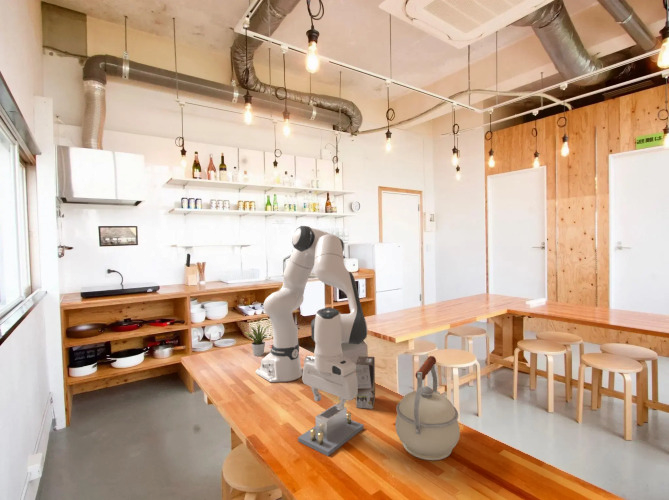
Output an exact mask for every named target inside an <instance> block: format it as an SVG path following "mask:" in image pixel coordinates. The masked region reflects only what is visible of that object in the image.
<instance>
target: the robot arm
mask: <svg viewBox="0 0 669 500" xmlns="http://www.w3.org/2000/svg"><path fill="white" fill-rule="evenodd" d="M291 243H292V247H293V248H294V249H293V250H292V253H291V254H290V256H289V259H288V261H287V264H286V266H285V267H284V270H283V273H282V276H283V281H282V286H281V288H280V289H279V290H277V291H274V292H272V293H270V295H268V296H267V297H266V298H265V300H263V301H264V302H263V310H264V312H265V314H266V315H267V316H268V317H269V320H270V325H271V328H272V341H273V342H272V344H271V345H269V348H268V349H271V350H270V352H269V353H268V354H266V356H264V357H263V358H262V359H261V361H260V367H259V368H257V369H256V370H255V374H256V375H258V376H259V377H262V378H263V379H265V380H266V381H268V382H270V383H278V382H292V381H296V380H298V379H300V378H301V379H302V382H303V384H304V385H306V386H308V387H310V389H311V392H312V394H313V401H315V402H319V401H321V400H322V395H321V394H320V391H322V392H325V393H328V394H331V395H333V396H336V397H338V400H339V401H340V402H338V403H336V404H337V409H338V410H340V411H342V410H343V409H344V407H345V403H346V402H347V401H350V402H351V400H354V399H356V396H357V394H358V383H357V376H356V363H355V362H353V360H351V359H349V358H348V357H346V356H345V355H344V354H343V349H342V344H350V345H351V344H352V345H360V344H361V343H362V342H364V341H365V340H366V339H367V337H368V336H367V335H368V333H369V332H368V331H369V330H368V329H369V328H368V323H367V321H366V318H365V315H364V312H363V311H364V310H363V308H362V304H361V300H360V294H359V290H358V288H357V284H356V280H355V277H354V274H353V273H352V272H351V271H348V269H347V268H346V266H345V263H344V262H345V261H344V257H345V256H344V250H345V243H344V241H343V239H342V238H340V237H339V236H337V235H335V234H331V233H330V232H327V231H324V230H320V229H316V228H312V227H310V226H308V225H307V226H306V225H300V226H299V227H298V228H296V230H295V231H294V233H293V235H292V241H291ZM313 269H314V273H315V277H316V278H317V279H318V280H319V281H320V282H321V283H323V284H325V285H327V286H330V287H333V288H336V289H338V290H340V291H342V292H343V293H344V294H345V295H346V297H347V302H348V307H349V308H348V309H349V312H350V313H341V312H340V311H339V310H338V309H336V308H332V307H324V308H321V309H318V310H317V311H316V313H315V317H314V318H313V319H312V320H311V323H310V327H311V330H310V331H311V339H312V341H313V342H314V343H315V348H314V352H313V356H311V355H307V356H305V357H304V359H303V367H302V366H301V358H300V343H299V335H298V334H299V333H298V331H299V330H298V328H299V327H298V325H297V324H296V322H295V320H294V316H293V315H294V314H293V312H295V311H296V310H298V309H299V308H300V306H301V305H302V304H303V302H304V295H305V289H306V284H307V283H308V280H309V278H310V276H311V273H312V271H313Z"/></svg>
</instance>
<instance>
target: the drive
mask: <svg viewBox="0 0 669 500" xmlns="http://www.w3.org/2000/svg"><path fill="white" fill-rule="evenodd" d="M337 404H338V403H334V404H333V405H331V406H330V407H328V408H327V409H325V410H324V411H322V412H320V413H319V414H317V415H315V417H314V418H315V426H316V436H318V432H323V439H324V440H329V439H330V438H331V437H333V436H334V435H336V434H337V433H338V432H340V431H341V430H342V429H344V428H345V427H346V426H347V413H348V411H347V410H348V409H347V407H345V406H344V409H343V410H342V411H340V410H338V409H337Z"/></svg>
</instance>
